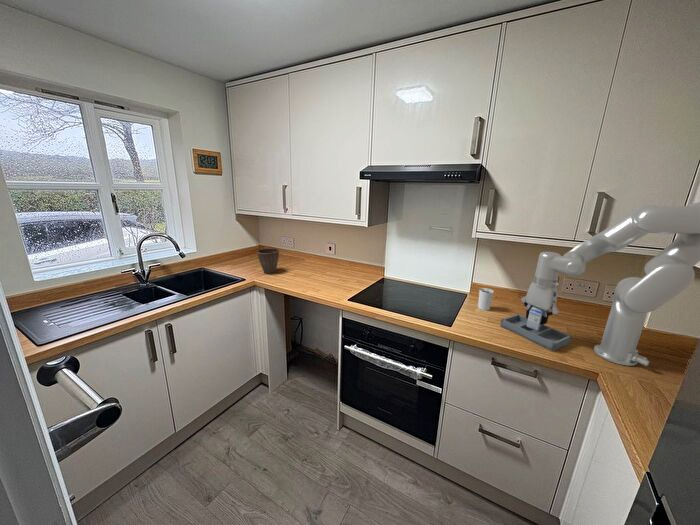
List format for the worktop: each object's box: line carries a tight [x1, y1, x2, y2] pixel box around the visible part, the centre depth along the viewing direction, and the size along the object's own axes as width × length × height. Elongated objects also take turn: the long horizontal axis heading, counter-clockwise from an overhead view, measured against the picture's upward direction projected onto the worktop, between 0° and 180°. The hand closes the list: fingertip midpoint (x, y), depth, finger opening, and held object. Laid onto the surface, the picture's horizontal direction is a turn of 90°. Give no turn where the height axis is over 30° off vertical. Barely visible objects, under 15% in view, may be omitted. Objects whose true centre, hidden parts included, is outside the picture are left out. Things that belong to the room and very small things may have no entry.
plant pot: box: [256, 247, 280, 275], centre depth 201 cm, size 15×15×16 cm
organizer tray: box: [499, 313, 573, 352], centre depth 124 cm, size 23×13×4 cm, turn 28°
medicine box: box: [527, 306, 544, 330], centre depth 122 cm, size 8×4×9 cm, turn 133°
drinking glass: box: [477, 287, 494, 311], centre depth 148 cm, size 7×7×10 cm
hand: (535, 320), depth 123 cm, fingers closed on medicine box, 5 cm apart
